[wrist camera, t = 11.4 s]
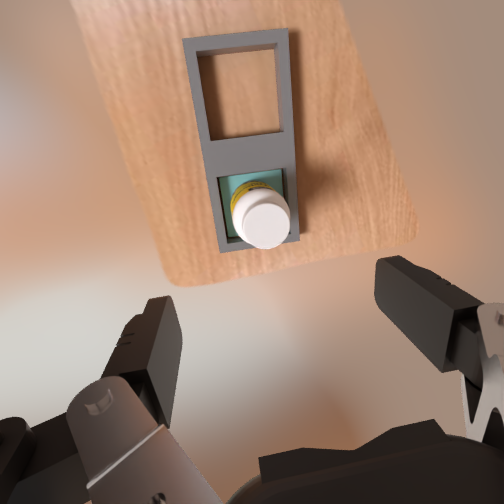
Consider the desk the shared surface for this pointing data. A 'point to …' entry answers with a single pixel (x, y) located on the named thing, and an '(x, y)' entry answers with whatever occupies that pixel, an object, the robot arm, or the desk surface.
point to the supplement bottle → (260, 214)
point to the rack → (252, 147)
